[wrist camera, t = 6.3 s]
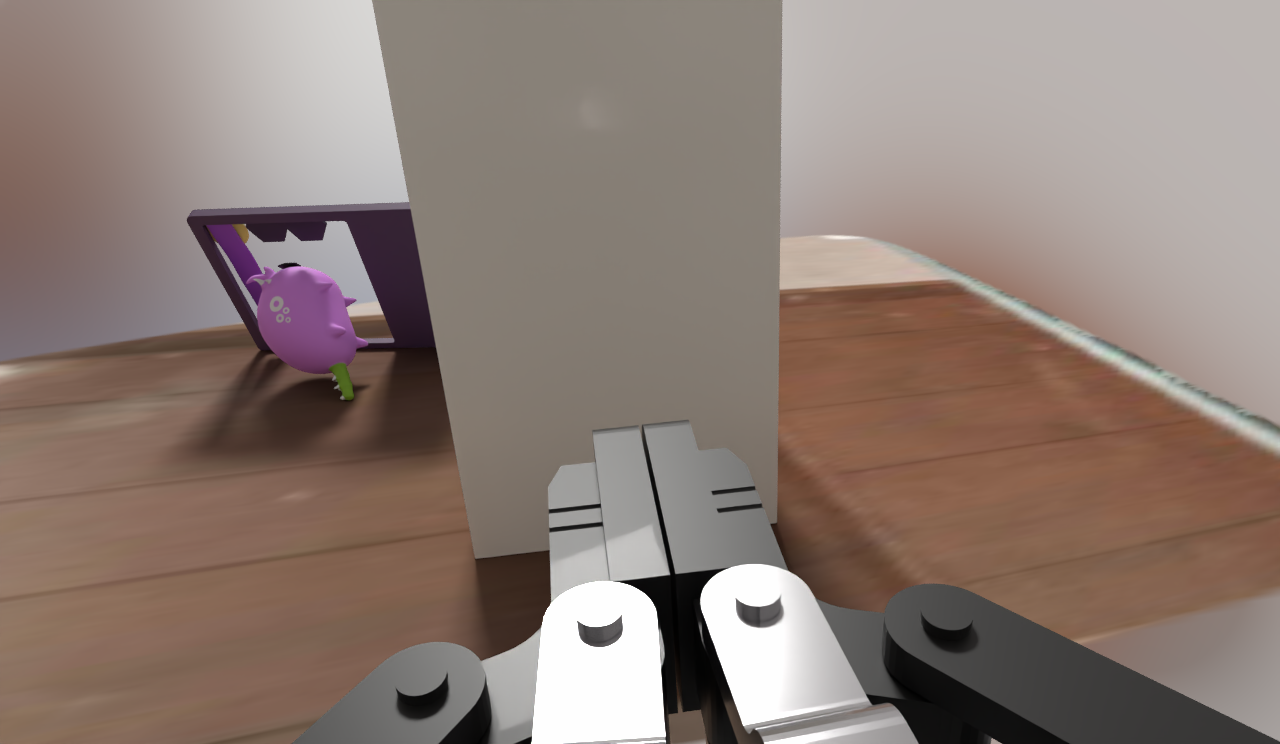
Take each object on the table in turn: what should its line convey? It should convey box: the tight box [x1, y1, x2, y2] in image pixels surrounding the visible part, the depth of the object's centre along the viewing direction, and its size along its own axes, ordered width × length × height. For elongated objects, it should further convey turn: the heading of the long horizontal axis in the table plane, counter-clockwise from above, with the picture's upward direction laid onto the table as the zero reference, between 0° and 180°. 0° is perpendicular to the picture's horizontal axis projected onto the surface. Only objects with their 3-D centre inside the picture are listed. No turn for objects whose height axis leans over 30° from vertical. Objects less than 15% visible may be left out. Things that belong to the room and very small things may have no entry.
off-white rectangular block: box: [372, 0, 782, 559], centre depth 22 cm, size 8×3×14 cm, turn 96°
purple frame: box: [187, 202, 436, 400], centre depth 32 cm, size 7×5×9 cm
